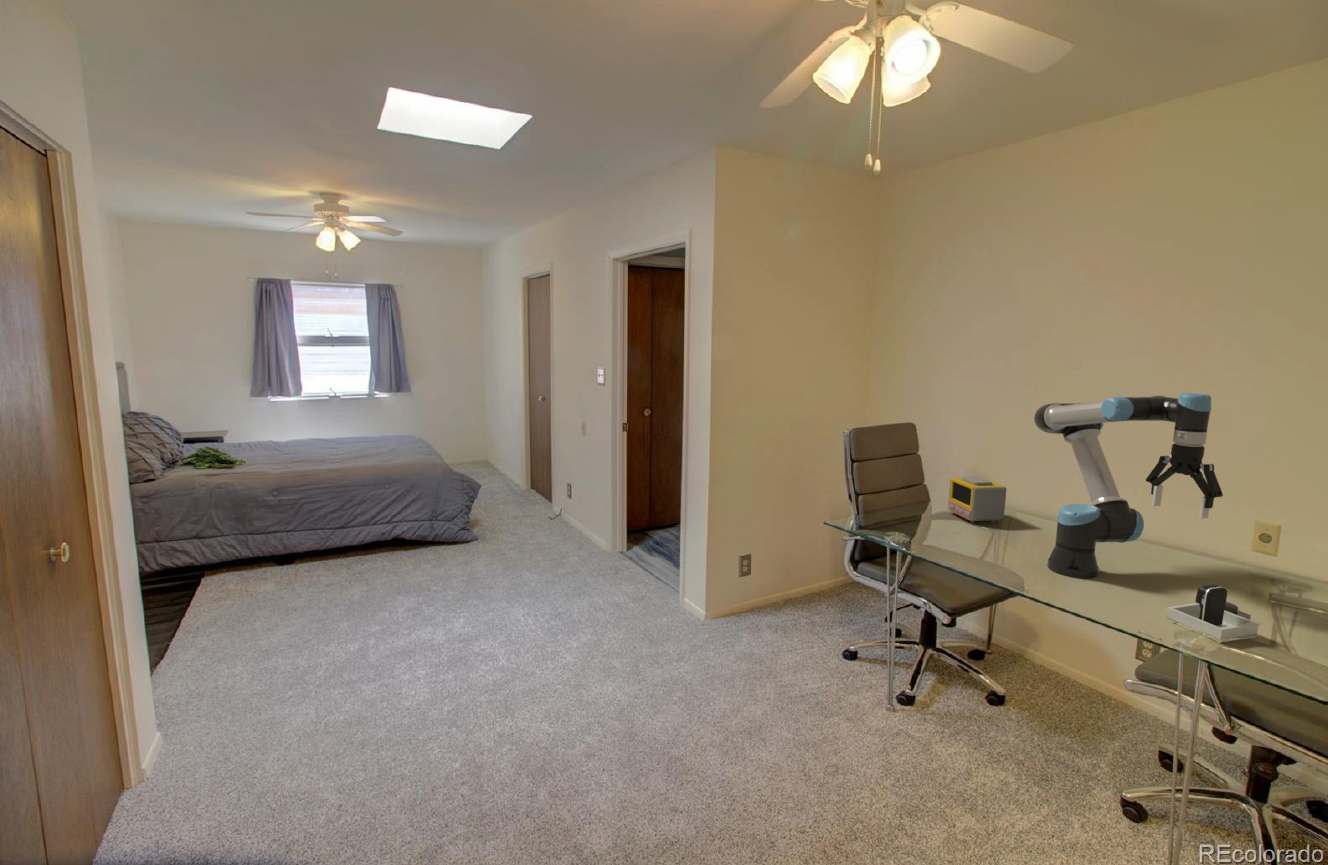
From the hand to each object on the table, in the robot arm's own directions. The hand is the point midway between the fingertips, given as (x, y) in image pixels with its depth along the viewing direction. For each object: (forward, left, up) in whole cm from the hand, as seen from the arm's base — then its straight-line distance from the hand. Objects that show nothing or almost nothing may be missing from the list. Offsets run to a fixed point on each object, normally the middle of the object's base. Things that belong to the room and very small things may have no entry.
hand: (1178, 511), depth 185 cm
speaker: (+13, +3, -29) cm, 31 cm away
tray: (+18, -9, -29) cm, 35 cm away
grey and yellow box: (-86, +4, -29) cm, 91 cm away
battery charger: (+17, -9, -28) cm, 34 cm away
